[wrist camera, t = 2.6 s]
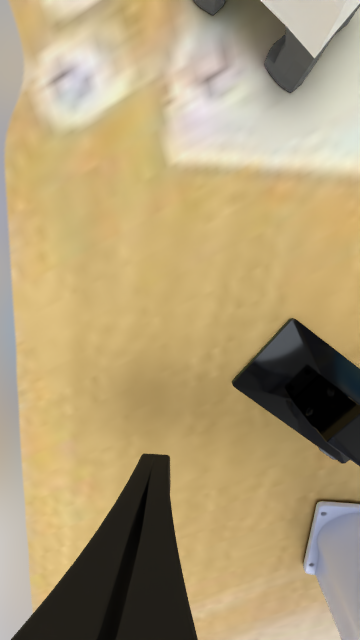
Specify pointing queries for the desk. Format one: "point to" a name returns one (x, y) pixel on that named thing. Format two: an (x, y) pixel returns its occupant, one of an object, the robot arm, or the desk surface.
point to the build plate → (308, 389)
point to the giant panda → (299, 34)
